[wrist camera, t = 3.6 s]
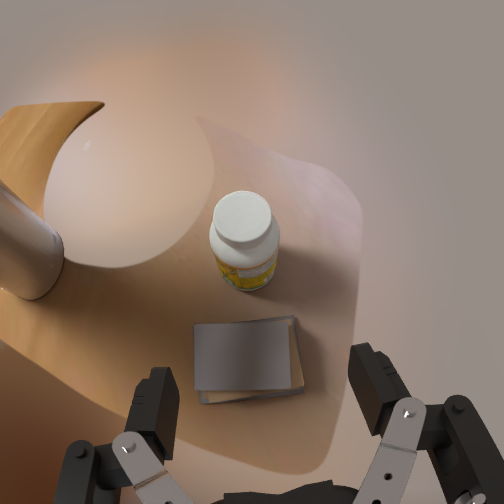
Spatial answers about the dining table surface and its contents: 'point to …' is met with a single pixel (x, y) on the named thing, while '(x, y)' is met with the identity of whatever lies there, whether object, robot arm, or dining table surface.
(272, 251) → the supplement bottle
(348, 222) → the dining table surface
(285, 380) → the offcut stack
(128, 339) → the dining table surface
